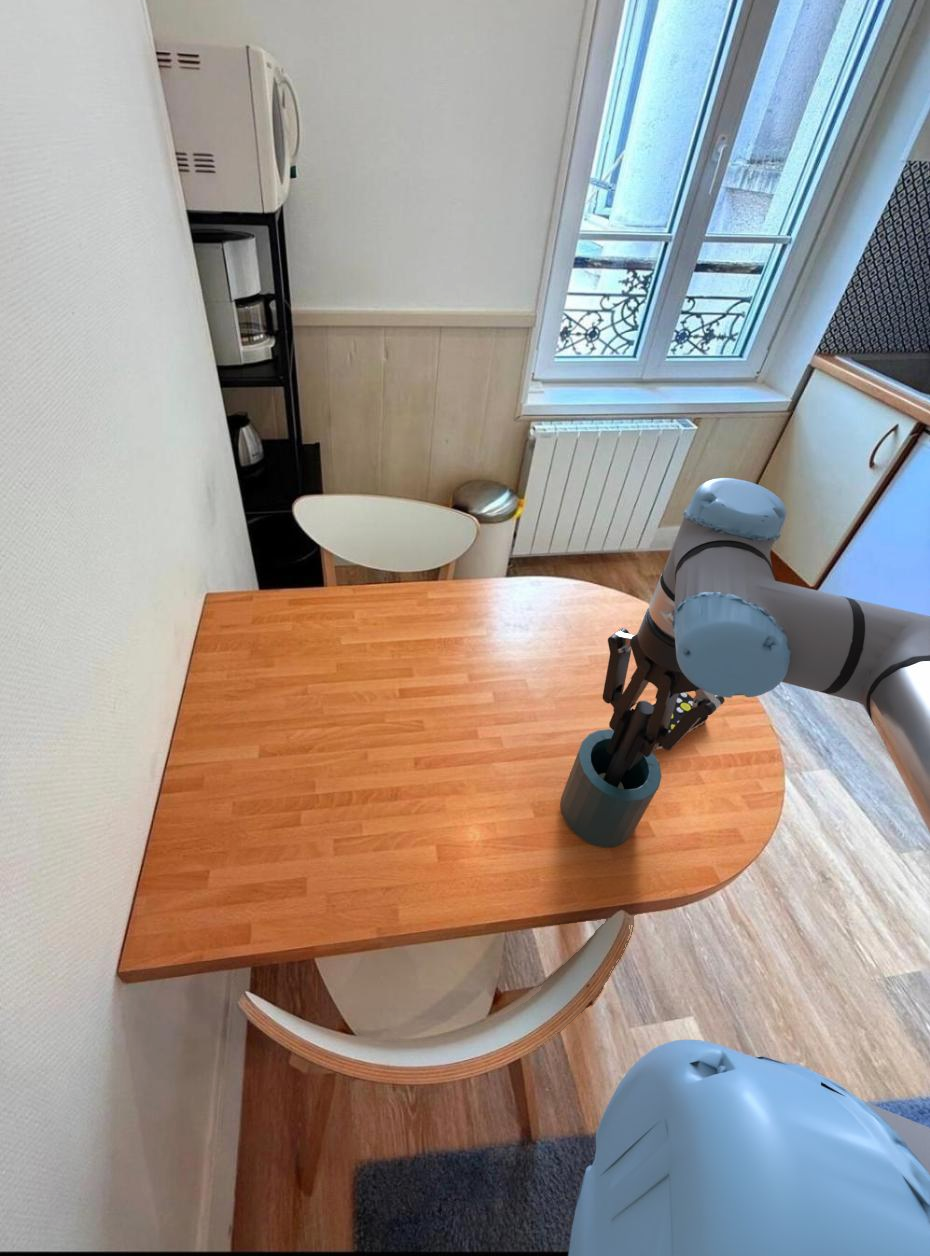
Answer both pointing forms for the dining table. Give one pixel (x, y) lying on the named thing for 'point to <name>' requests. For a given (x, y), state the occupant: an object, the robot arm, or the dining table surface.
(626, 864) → the dining table surface
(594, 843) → the jar
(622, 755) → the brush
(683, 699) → the remote control
